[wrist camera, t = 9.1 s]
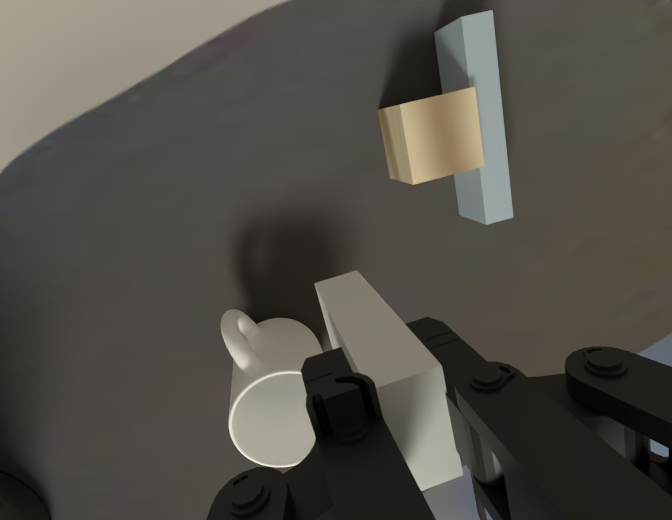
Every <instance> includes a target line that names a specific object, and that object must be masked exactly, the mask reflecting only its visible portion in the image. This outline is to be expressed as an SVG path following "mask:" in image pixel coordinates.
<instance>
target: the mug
mask: <svg viewBox="0 0 672 520" xmlns="http://www.w3.org/2000/svg"><path fill="white" fill-rule="evenodd" d="M221 332H222V336H223V339H224V342H225V344H226V346H227V348H228V350H229V352H230V354H231V355H232V357H233V359H234V362H233V373H232V385H231V397H230V410H229V432H230V435H231V438H232V441H233V442H234V444H235V446H236V447H237V448H238V450H239V451H240V452H241V453H242V454H243V455H244V456H246V457H247V458H248V459H250V460H252V461H254V462H256V463H258V464H261V465H265V466H270V467H289V466H294V465H297V464H299V463H300V462H301V461H302V460H303V459H304V458H305V457H306V456H307V455H308V454H309V453H310V451H311V449H312V447H313V446H314V443H315V439H316V437H315V434H314V431H313V428H312V425H311V421H310V418H309V415H308V412H307V409H306V397H307V394H306V390H305V386H304V382H303V378H302V374H301V369H302V366H303V364H304V361H305V359H306V358H309V357H312V356H315V355H318V354H321V353H323V352H322V349H321V346H320V344H319V342H318V340H317V338H316V336H315V335H314V334H313V332H312V331H311V330H310V329H309V328H308V327H307V326H305V325H304V324H302V323H300V322H298V321H296V320H293V319H288V318H273V319H268V320H265V321H262V322H260V323H258V324H256V323H255V322H254V321H253V320H252V319H251V318H250V317H248V316H247V315H246V314H245V313H243V312H241V311H239V310H236V309H231V310H228V311H226V312H225V313H224V314H223V316H222V319H221ZM242 334H243V335H242Z"/></svg>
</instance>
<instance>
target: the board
mask: <svg viewBox="0 0 672 520" xmlns="http://www.w3.org/2000/svg"><path fill="white" fill-rule="evenodd" d="M434 37H435V44H436V51H437V58H438V65H439V72H440V80H441V87H442V94H446V93H450V92H454V91H459V90H463V89H467V88H471V87H475V90H476V98H477V107H478V115H479V124H480V132H481V141H482V149H483V158H484V166H483V167H479V168H475V169H472V170H468V171H464V172H460V173H456V174H454V180H455V187H456V194H457V202H458V209H459V215H461V216H464V217H467V218H469V219H472V220H475V221H478V222H480V223H483V224H486V225H487V224H491V223H494V222H498V221H501V220H505V219H509V218H512V217H513V210H512V200H511V190H510V180H509V170H508V160H507V150H506V140H505V130H504V120H503V110H502V100H501V90H500V80H499V70H498V60H497V50H496V40H495V30H494V20H493V10H490V11H486V12H481V13H477V14H472V15H467V16H463V17H460V18H458V19H457V20H455V21H453V22H452V23H450V24H448V25H446V26H445V27H443V28H441V29H440V30H438V31H436V32H434Z"/></svg>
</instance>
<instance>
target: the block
mask: <svg viewBox="0 0 672 520" xmlns="http://www.w3.org/2000/svg"><path fill="white" fill-rule="evenodd" d="M378 114H379V120H380V125H381V131H382V136H383V141H384V147H385V152H386V158H387V163H388V169H389V174H390V178H391V179H395V180H398V181H402V182H406V183H409V184H413V185H414V184H418V183H422V182H426V181H429V180H433V179H437V178H441V177H445V176H449V175H452V174H456V173H460V172H464V171H468V170H472V169H475V168H479V167H483V166H484V158H483V149H482V141H481V132H480V124H479V115H478V107H477V98H476V90H475V87H471V88H467V89H463V90H459V91H454V92H450V93H446V94H442V95H438V96H433V97H429V98H425V99H421V100H417V101H412V102H408V103H404V104H400V105H396V106H391V107H387V108H383V109H379V110H378Z"/></svg>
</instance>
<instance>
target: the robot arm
mask: <svg viewBox="0 0 672 520" xmlns="http://www.w3.org/2000/svg"><path fill="white" fill-rule="evenodd" d="M314 284H315V288H316V291H317V295H318V299H319V302H320V306H321V309H322V313H323V316H324V320H325V323H326V327H327V331H328V334H329V338H330V341H331V345H332V348H333V350H330V351H327V352H324V353H321V354H318V355H315V356H312V357H309V358H306V359H305V361H304V364H303V366H302V369H301V374H302V378H303V382H304V386H305V390H306V394H307V397H306V409H307V412H308V415H309V418H310V421H311V425H312V428H313V431H314V434H315V437H316V439H315V443H314V446H313V447H312V449H311V451H310V453H309V454H308V455H307V456H306V457H305V458H304V459H303V460H302V461H301V462H300V463H299V464H297V465H296V466H295V467H293V468H292V469H290V470H289V471H287V472H286V473H284V474H282V473H281V472H280V471H278V470H276V469H273V468H271V467H257V468H254V469H251V470H248V471H244V472H242V473H241V474H239V475H237V476H236V477H234V478H233V479H231V480H230V481H229V482H228V483H227V484H226V485H225V486H224V487H223V488H222V489H221V490H220V491H219V492H218V494H217V496H216V498H215V500H214V501H213V503H212V505H211V508H210V511H209V514H208V517H207V520H435V517H434V515H433V514H432V512H431V510H430V508H429V506H428V504H427V502H426V500H425V498H424V496H423V494H422V492H421V491H423V490H425V489H428V488H430V487H433V486H436V485H438V484H441V483H443V482H446V481H449V480H451V479H454V478H456V477H459V476H462V475H463V472H462V467H461V461H460V456H461V458H462V459H463V461H464V462H465V464H466V465H467V466H468V468H469V469H470V472H471V477H472V483H473V488H474V494H475V499H476V504H477V510H478V514H479V517H480V519H481V520H487V519H486V513H485V508H486V510H487V511H488V513H489V514H490V516H491V517H492V519H493V520H672V367H670V366H667V365H665V364H662V363H659V362H656V361H654V360H651V359H648V358H645V357H642V356H640V355H637V354H634V353H631V352H629V351H625V350H621V349H617V348H613V347H600V346H597V347H589V348H583V349H580V350H578V351H575V352H573V353H571V354H570V355H569V356H568V357H567V358H566V362H565V374H557V375H548V376H540V377H526V376H525V375H524V374H523V373H522V372H520V371H519V370H518V369H516V368H514V367H512V366H511V365H509V364H504V363H500V362H487V361H486V360H485V359H484V358H483V357H481V356H480V355H479V354H478V353H477V352H476V351H475V350H474V349H473V348H471V347H470V346H469V345H468V344H467V343H466V342H465V341H464V340H461V339H460V337H459V336H458V335H457V334H456V333H455V332H453V331H452V330H451V329H450V328H449V327H448V326H447V325H446V324H445V323H443V322H442V321H439V320H436V319H433V318H430V317H425V318H422V319H419V320H416V321H413V322H410V323H407V324H404V322H403V321H402V320H401V319H400V318H399V317H398V316H397V315H396V314H395V312H394V311H393V310H392V309H391V308H390V307H389V306H388V305H387V303H386V302H385V301H384V300H383V299H382V298H381V297H380V296H379V295H378V293H377V292H376V291H375V290H374V289H373V288H372V287H371V286H370V284H369V283H368V282H367V281H366V280H365V279H364V278H363V277H362V276H361V274H360V273H359V272H358V271H357V270H356V271H353V272H350V273H346V274H343V275H340V276H337V277H333V278H330V279H327V280H324V281H320V282H317V283H314ZM650 439H652V440H654V441H656V442H658V443H660V444H662V445H664V446H666V447H667V448H669V457H663V456H660V455H658V454H655V453H653V452H651V450H650ZM459 455H460V456H459ZM484 507H485V508H484ZM0 520H50V519H49V516H48V513H47V511H46V509H45V507H44V505H43V504H42V502H41V501H40V499H39V498H38V497H37V496H36V495H35V494H34V493H33V492H32V491H31V490H30V489H29V488H28V487H26V486H25V485H24V484H22V483H21V482H19V481H18V480H16V479H14V478H12V477H10V476H8V475H6V474H3V473H1V472H0Z"/></svg>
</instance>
